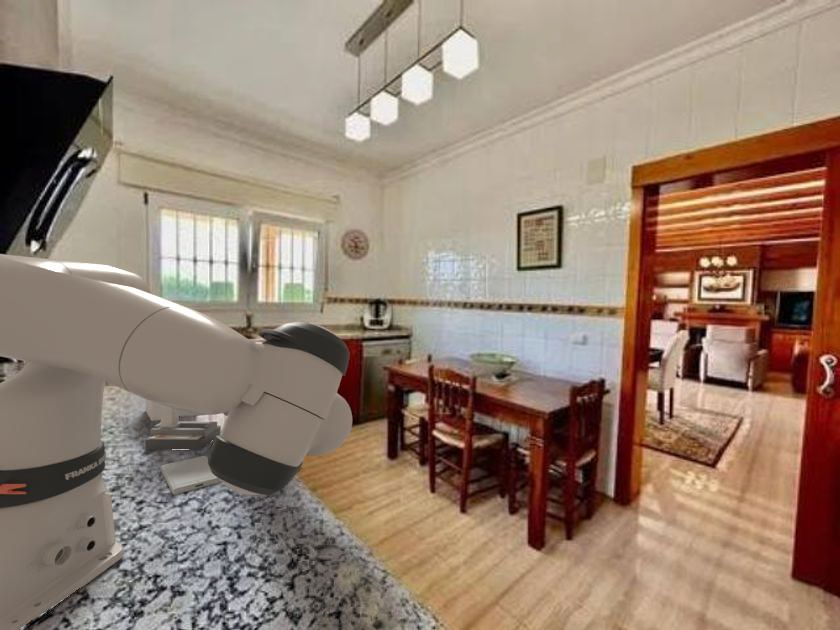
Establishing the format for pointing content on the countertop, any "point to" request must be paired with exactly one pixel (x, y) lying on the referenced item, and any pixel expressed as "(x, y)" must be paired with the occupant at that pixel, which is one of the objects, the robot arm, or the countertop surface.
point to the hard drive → (188, 474)
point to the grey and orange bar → (169, 418)
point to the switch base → (182, 436)
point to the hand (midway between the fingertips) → (175, 396)
